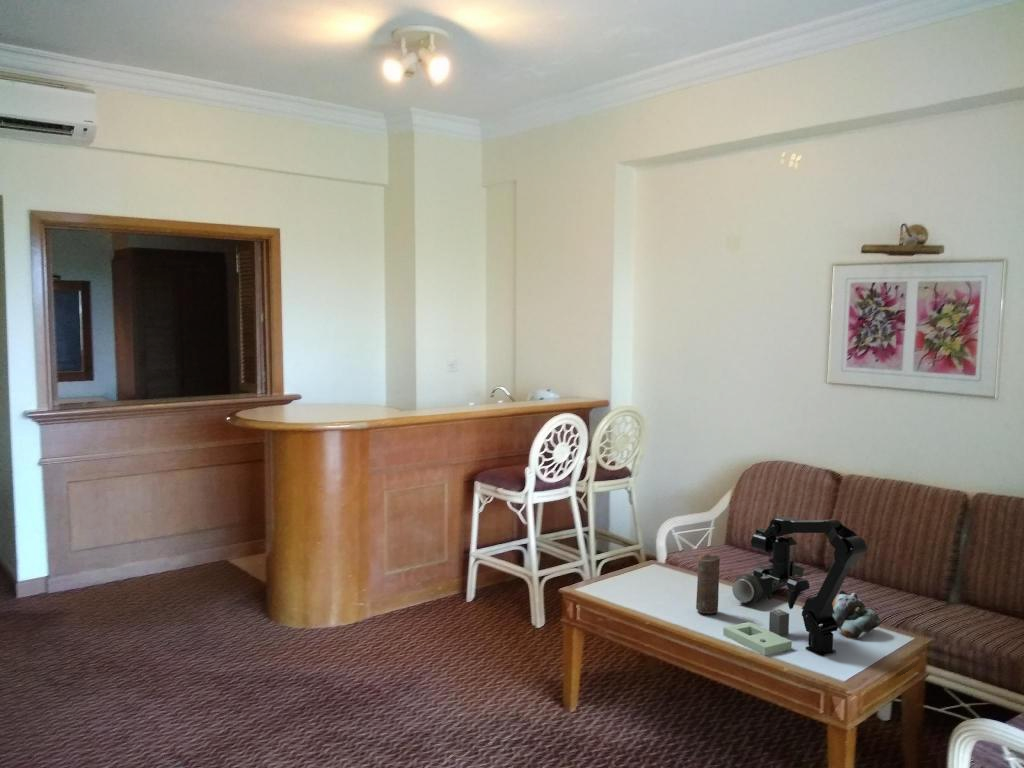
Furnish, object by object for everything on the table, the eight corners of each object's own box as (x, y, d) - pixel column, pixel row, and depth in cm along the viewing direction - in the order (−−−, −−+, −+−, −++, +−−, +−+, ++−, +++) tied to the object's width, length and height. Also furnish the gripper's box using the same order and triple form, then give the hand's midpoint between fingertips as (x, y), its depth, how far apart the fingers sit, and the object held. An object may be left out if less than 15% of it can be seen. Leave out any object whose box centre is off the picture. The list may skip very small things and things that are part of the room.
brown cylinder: (720, 616, 273) (722, 559, 271) (699, 616, 273) (700, 558, 271) (714, 609, 280) (716, 552, 279) (693, 608, 280) (695, 552, 279)
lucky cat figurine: (853, 642, 251) (832, 599, 255) (831, 643, 262) (811, 602, 266) (889, 623, 256) (868, 582, 259) (867, 625, 267) (847, 585, 270)
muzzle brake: (791, 592, 300) (792, 564, 299) (754, 610, 280) (755, 580, 279) (767, 586, 307) (768, 559, 306) (729, 603, 287) (730, 574, 286)
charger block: (788, 635, 257) (789, 612, 257) (778, 637, 255) (779, 614, 255) (778, 630, 261) (779, 608, 260) (769, 632, 259) (769, 610, 258)
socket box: (791, 649, 246) (791, 640, 245) (764, 655, 241) (765, 646, 240) (749, 629, 262) (749, 621, 261) (723, 635, 256) (723, 626, 256)
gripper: (822, 560, 252) (821, 609, 253) (777, 546, 268) (776, 592, 269) (797, 565, 247) (795, 614, 248) (752, 550, 263) (751, 597, 264)
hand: (780, 604), depth 257 cm, fingers open, 9 cm apart
